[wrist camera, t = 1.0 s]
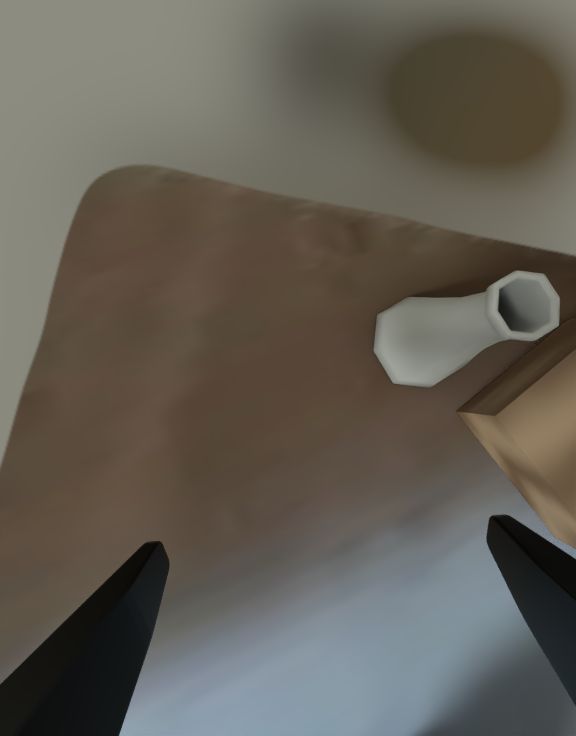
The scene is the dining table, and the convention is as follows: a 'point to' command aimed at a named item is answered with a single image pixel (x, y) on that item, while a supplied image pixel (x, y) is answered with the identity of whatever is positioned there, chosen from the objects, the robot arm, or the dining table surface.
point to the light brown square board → (535, 428)
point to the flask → (461, 327)
